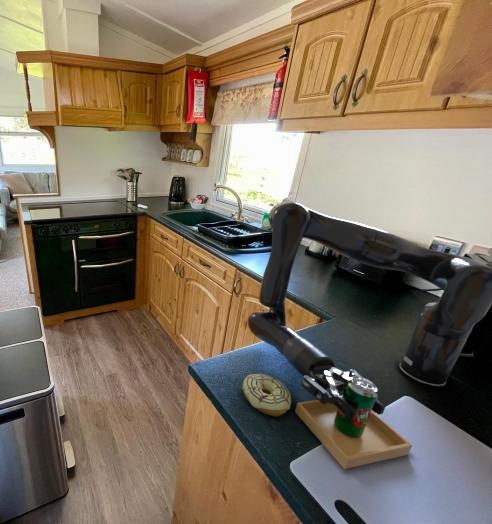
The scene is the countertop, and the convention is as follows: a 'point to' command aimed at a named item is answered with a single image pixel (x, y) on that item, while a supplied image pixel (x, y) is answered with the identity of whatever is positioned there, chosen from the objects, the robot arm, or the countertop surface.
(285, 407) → the decorated donut
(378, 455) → the serving tray
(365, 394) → the soda can
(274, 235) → the robot arm
